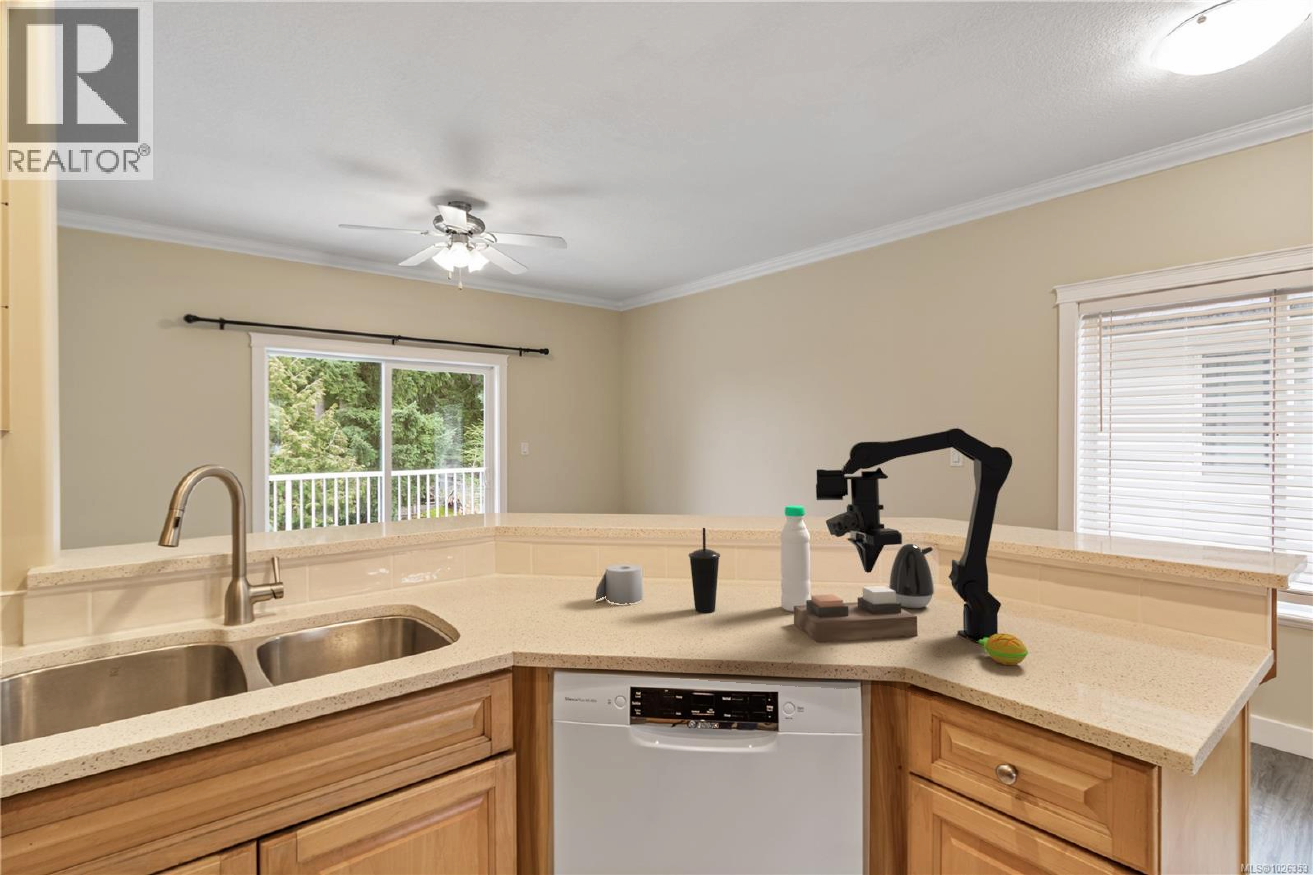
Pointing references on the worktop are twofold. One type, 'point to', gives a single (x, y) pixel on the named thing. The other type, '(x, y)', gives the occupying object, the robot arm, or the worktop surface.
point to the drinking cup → (704, 577)
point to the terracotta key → (826, 600)
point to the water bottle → (795, 559)
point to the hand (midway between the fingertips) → (868, 572)
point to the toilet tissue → (621, 584)
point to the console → (854, 621)
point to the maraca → (1005, 648)
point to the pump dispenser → (912, 577)
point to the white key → (879, 595)
